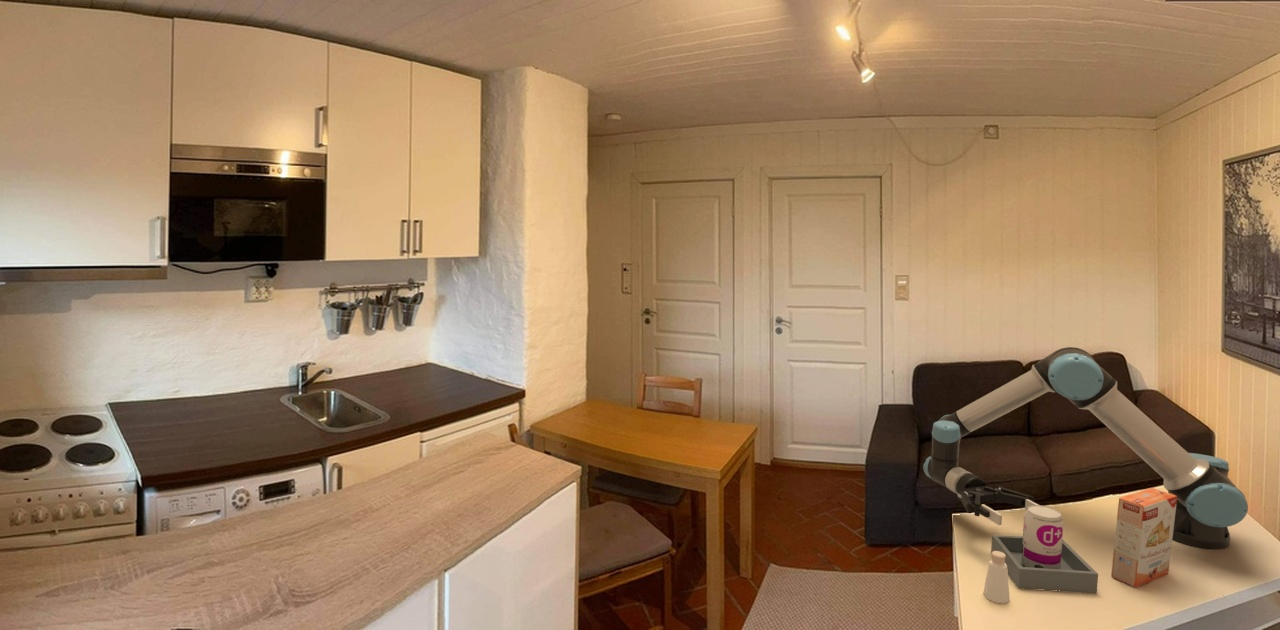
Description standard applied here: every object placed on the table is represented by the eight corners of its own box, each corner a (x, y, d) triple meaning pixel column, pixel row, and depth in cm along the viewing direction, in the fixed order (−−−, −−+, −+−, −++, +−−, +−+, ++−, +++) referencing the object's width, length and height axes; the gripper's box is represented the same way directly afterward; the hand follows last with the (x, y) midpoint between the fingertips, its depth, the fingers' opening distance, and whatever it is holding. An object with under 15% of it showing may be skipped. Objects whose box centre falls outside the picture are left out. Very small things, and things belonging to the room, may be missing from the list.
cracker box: (1137, 589, 147) (1145, 506, 144) (1109, 577, 152) (1116, 496, 150) (1171, 575, 152) (1179, 494, 150) (1143, 563, 158) (1150, 485, 155)
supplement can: (1066, 578, 151) (1070, 520, 149) (1028, 575, 152) (1032, 517, 150) (1051, 560, 158) (1055, 505, 156) (1016, 557, 160) (1019, 503, 158)
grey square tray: (1060, 556, 162) (1062, 538, 162) (1096, 593, 146) (1098, 574, 145) (990, 552, 165) (991, 534, 164) (1018, 588, 149) (1019, 568, 148)
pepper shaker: (985, 588, 149) (987, 545, 148) (1011, 595, 146) (1014, 552, 144) (981, 598, 145) (983, 554, 143) (1007, 606, 141) (1010, 561, 140)
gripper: (1002, 493, 183) (1063, 525, 162) (927, 501, 179) (980, 536, 158) (1004, 468, 182) (1065, 498, 161) (928, 476, 178) (981, 508, 157)
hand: (1023, 517), depth 160 cm, fingers open, 13 cm apart
